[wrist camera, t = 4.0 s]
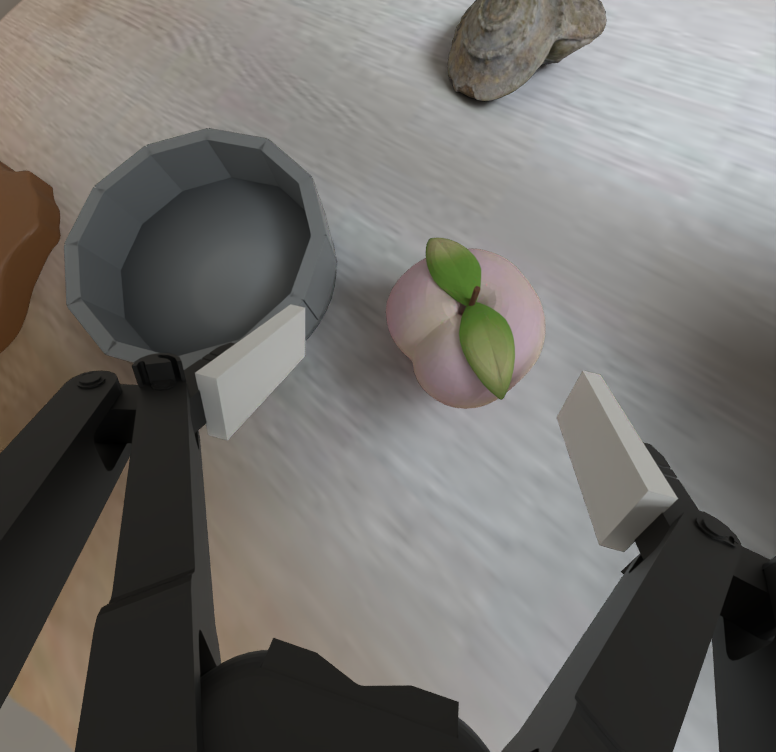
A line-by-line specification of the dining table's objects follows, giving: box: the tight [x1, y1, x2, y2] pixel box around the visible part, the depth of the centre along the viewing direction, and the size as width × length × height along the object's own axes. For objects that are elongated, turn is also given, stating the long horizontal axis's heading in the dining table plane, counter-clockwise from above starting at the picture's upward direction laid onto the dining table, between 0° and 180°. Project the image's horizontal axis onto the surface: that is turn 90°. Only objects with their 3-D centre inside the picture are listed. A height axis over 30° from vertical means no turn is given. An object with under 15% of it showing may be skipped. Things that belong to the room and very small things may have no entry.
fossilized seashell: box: [448, 0, 607, 101], centre depth 27 cm, size 11×11×7 cm
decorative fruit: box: [386, 238, 545, 409], centre depth 19 cm, size 9×8×10 cm
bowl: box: [64, 128, 337, 370], centre depth 25 cm, size 18×18×4 cm
